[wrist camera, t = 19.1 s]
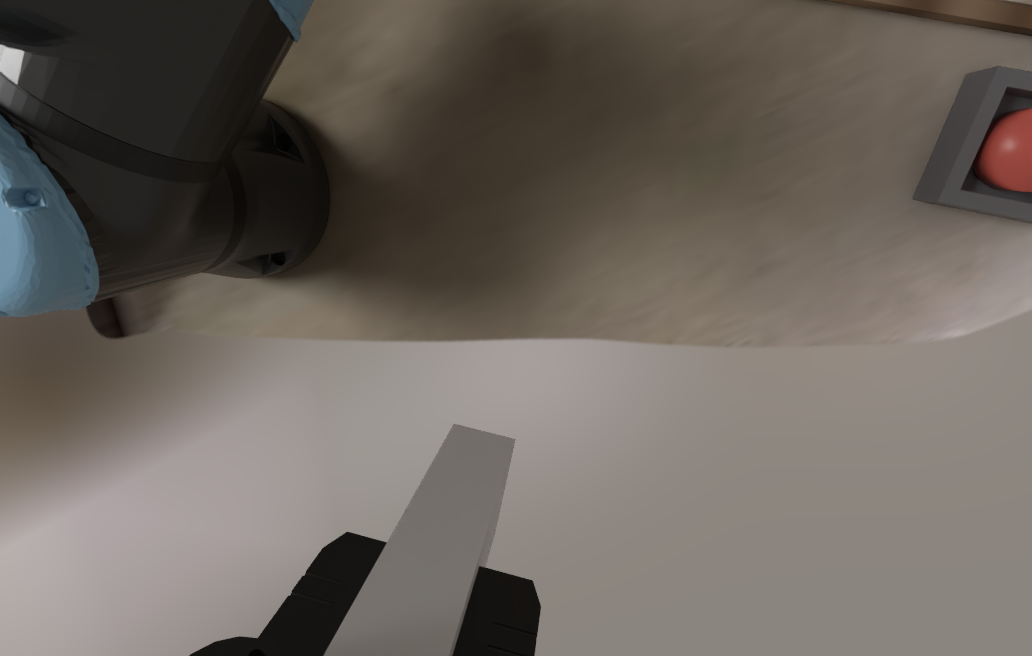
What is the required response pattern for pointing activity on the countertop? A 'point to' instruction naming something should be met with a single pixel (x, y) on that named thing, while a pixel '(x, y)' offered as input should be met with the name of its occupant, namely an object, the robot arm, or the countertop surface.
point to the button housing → (976, 145)
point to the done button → (1007, 153)
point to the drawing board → (962, 11)
